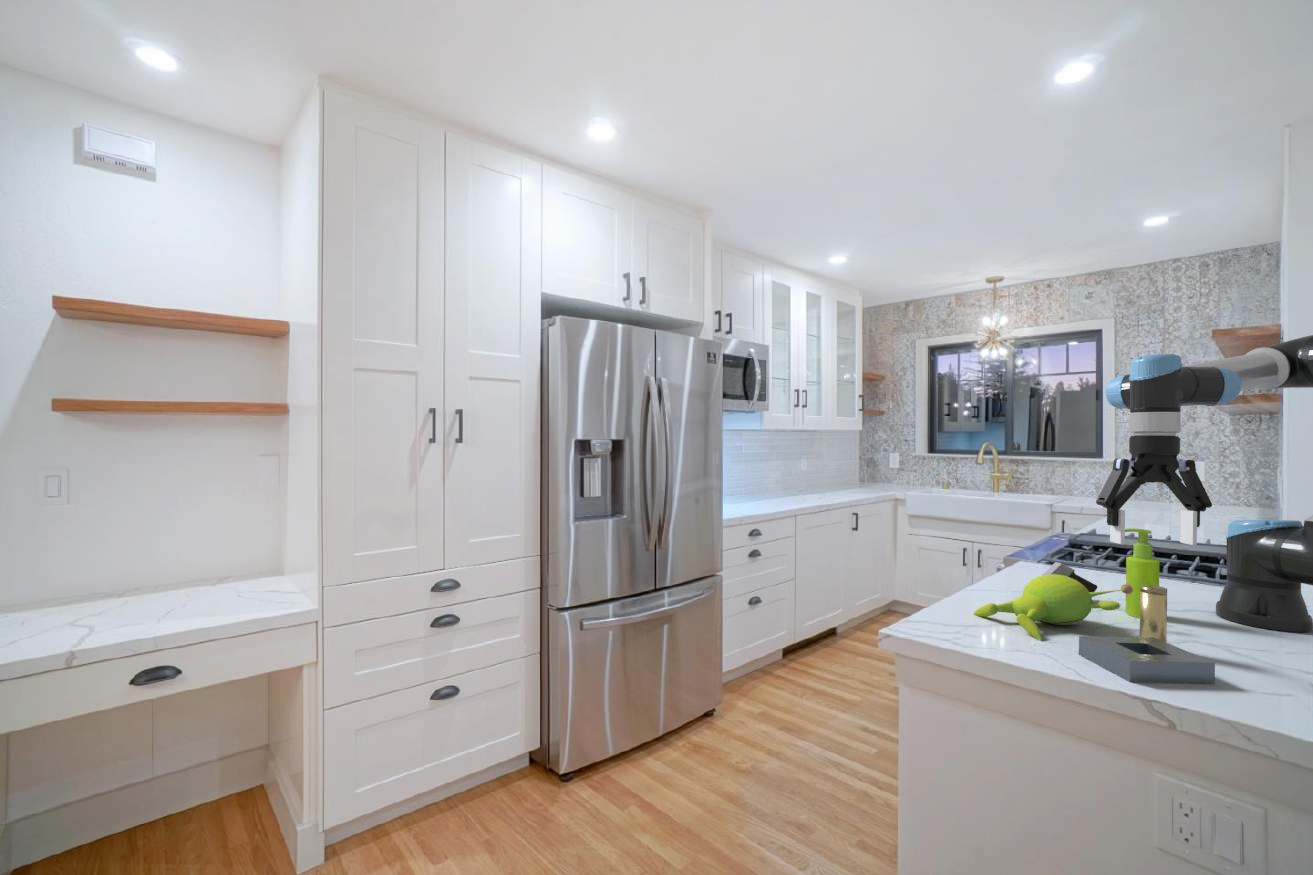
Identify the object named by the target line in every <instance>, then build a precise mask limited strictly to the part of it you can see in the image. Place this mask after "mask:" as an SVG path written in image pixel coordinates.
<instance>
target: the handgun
mask: <svg viewBox="0 0 1313 875" xmlns="http://www.w3.org/2000/svg"><path fill="white" fill-rule="evenodd" d="M1049 574H1057V575H1063V576H1067V577H1070V578H1072V579H1075V580H1077V581H1078V582H1080V583H1081V584H1082V585H1084V586H1085V587H1086V589H1087V590H1088V591H1089V592H1096V590H1097V589H1098V585H1096V584H1095V583H1093V582H1091V581H1090V580H1087V578H1083V577H1081V576H1080V575H1078V574H1076V573H1075V569H1074V568H1072V567H1069V566H1068V565H1066V564H1063V563H1061V562H1057V561H1055V562H1054V563H1053V564H1051V566H1050V567H1049V568H1048V569H1047V570H1046V571H1045V572H1043V574H1041V576H1043V575H1049Z"/></svg>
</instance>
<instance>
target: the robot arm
mask: <svg viewBox="0 0 1313 875" xmlns="http://www.w3.org/2000/svg"><path fill="white" fill-rule="evenodd" d="M1129 372H1130V373H1129V374H1125V375H1120V376H1119V375H1118V376H1116V377H1113V378H1112V379H1111V380H1110V381H1109V382H1108V383H1107V385H1106V387H1105V396H1106V400H1107V402H1108V403H1109V404H1110V405H1111V406H1112V407H1114V408H1116V409H1120V410H1121V409H1123V410H1124V409H1127V410H1129V432H1130V433H1132V434H1133V435H1130V437H1129V440H1128V441H1129V446H1128V447H1129V448H1128V450H1129V451H1128V452H1129V454H1130V455H1131V458H1130V460H1129V459H1127V458H1114V460H1113V462H1112V463H1113V464H1112V470H1111V472H1110V474H1109V476H1108V477H1107V479H1106V481H1105V484H1104V485H1103V487H1102V489H1101V491H1100V493H1099V494H1098V497H1097V499H1096V500H1095V502H1096V504H1097V505H1099V506H1100V507H1101V506H1102V507H1103V508H1105V509H1106V523H1107V524H1106V525H1107V526H1110V529H1109V542H1111V543H1115V544H1120V545H1125V541H1126V539H1125V538H1126V534H1125V533H1126V532H1125V529H1126V510H1124V509H1122V508H1123V506H1124V505H1125V504H1126V503H1127V502H1128V501H1129V500H1130V498H1131V497H1132V496H1133V495H1134V494H1135V493H1136V492H1137V490H1138V489H1139V488H1140V487H1141V486H1142V485H1145V484H1146V483H1162V484H1163V485H1165V486H1166V487H1167V488H1168V489H1169V490H1170V491H1171V493H1172V494H1173V495H1174V496H1175V497H1176V498H1177V500H1178V501H1179V502H1180V503H1181V505H1183V507H1184V508H1185V509H1180V533H1179V534H1180V535H1179V536H1180V537H1179V539H1180V540H1179V541H1180V543H1181V544H1186V545H1190V546H1197V544H1198V542H1197V541H1198V537H1197V536H1198V528H1200V525H1201V512H1206V510H1207V508H1210V509H1211V508H1212V505H1213V503H1212V501H1211V499H1210V497H1209V495H1208V493H1207V491H1206V489H1205V487H1204V485H1203V483H1202V481H1201V478H1200V477H1199V476H1200V475H1198V472H1197V468H1196V466H1197V465H1196V461H1195V460H1194V459H1181V458H1180V459H1178V456H1179V455H1180V454H1181V437H1180V436H1179V435H1177V434H1179V433H1180V432H1181V429H1182V428H1181V426H1182V424H1181V418H1182V417H1181V411H1182V410H1181V407H1186V406H1187V407H1191V406H1206V407H1214V406H1223V405H1227V404H1230V403H1231V402H1233V401H1234V400H1235V399H1237V398H1238V396H1239V395H1240V393H1241V391H1244V390H1248V389H1256V390H1261V391H1267V390H1268V391H1269V390H1273V389H1290V388H1292V389H1293V388H1297V389H1299V388H1304V389H1305V388H1313V334H1312V335H1308V336H1303V337H1298V338H1295V339H1291V340H1288V341H1283V342H1281V343H1276V344H1272V345H1268V346H1264V347H1258V348H1254V349H1252V350H1250V351H1248V352H1247V353H1245V354H1243V355H1238V356H1232V357H1225V358H1221V359H1215V360H1209V361H1203V362H1198V363H1192V364H1185V365H1184V364H1183V363H1182V358H1181V356H1180V355H1179V354H1174V353H1173V354H1172V353H1166V354H1165V353H1158V354H1157V353H1156V354H1147V355H1140V356H1136V357H1135V358H1133V359H1132V361H1131V365H1130V371H1129ZM1130 470H1131V472H1130V473H1129V471H1130ZM1177 470H1178V473H1179V474H1178V473H1177V472H1176V471H1177ZM1128 473H1129V474H1128ZM1179 475H1180V476H1179ZM1125 479H1126V480H1125ZM1303 522H1304V523H1302V521H1300V520H1294V519H1293V520H1292V519H1291V520H1290V519H1282V520H1281V519H1236V520H1232V521H1231V522H1230V523H1229V524H1228V526H1227V527H1228V528H1227V532H1226V534H1227V535H1226V536H1225V539H1226V582H1225V585H1224V587H1223V589H1222V592H1221V594H1220V597H1219V600H1217V601H1216V604H1215V614H1216V616H1218V617H1220V618H1222V619H1225V620H1228V621H1230V622H1235V623H1238V624H1242V625H1245V626H1246V625H1247V626H1250V627H1256V628H1262V629H1267V630H1268V629H1269V630H1274V631H1282V632H1283V631H1284V632H1292V633H1293V632H1295V633H1297V632H1298V633H1304V632H1311V631H1312V630H1313V617H1312V616H1311V615H1310V614H1309V611H1308V607H1307V604H1306V602H1305V598H1304V597H1303V594H1302V584H1303V585H1308V586H1313V514H1312V515H1311V516H1308V517H1305V519H1304V521H1303Z"/></svg>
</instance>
